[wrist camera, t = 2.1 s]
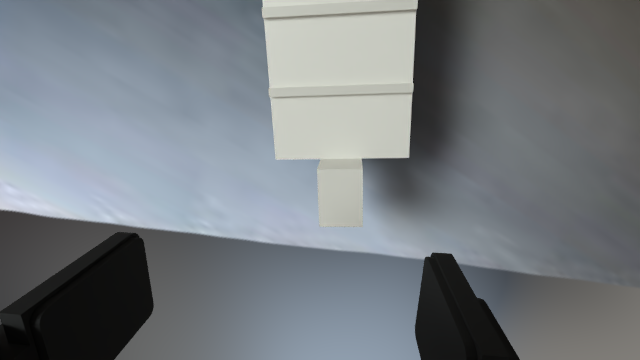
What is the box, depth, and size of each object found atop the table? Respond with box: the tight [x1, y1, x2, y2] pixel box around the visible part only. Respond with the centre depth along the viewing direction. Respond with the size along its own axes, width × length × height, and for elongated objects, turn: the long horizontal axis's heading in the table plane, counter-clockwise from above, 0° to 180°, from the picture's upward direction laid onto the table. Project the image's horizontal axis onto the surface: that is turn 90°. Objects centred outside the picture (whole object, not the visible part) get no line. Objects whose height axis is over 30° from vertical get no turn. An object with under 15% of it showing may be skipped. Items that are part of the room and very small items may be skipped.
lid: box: [262, 0, 418, 227], centre depth 22 cm, size 10×19×4 cm, turn 2°
